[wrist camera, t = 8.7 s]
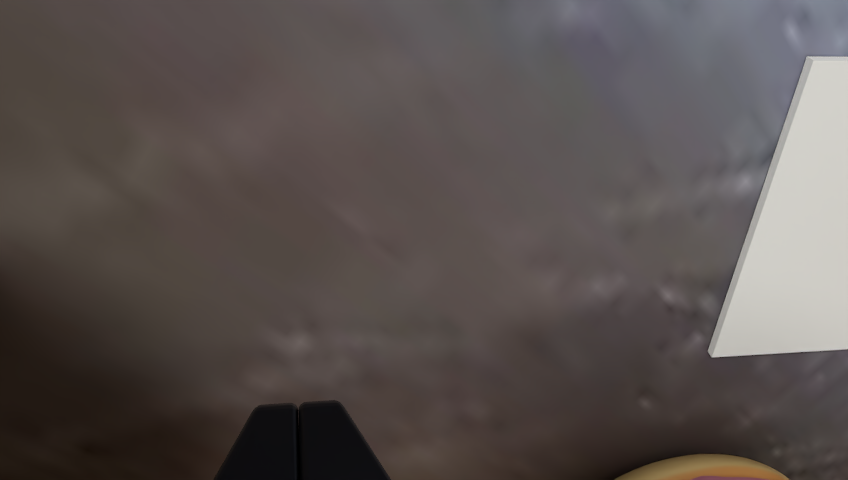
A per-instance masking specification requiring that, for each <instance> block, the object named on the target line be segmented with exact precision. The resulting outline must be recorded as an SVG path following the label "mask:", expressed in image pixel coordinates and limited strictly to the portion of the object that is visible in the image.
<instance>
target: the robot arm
mask: <svg viewBox="0 0 848 480" xmlns="http://www.w3.org/2000/svg"><path fill="white" fill-rule="evenodd" d="M214 480H391V479H390V477H389V476H388V474H387V473H386V471H385V470H384V468H383V466H382V465H381V463H380V462H379V460H378V459H377V457H376V456H375V454H374V453H373V451H372V449H371V448H370V446H369V445H368V443H367V442H366V440H365V439H364V437H363V436H362V434H361V432H360V431H359V429H358V428H357V426H356V425H355V423H354V422H353V420H352V418H351V417H350V415H349V414H348V412H347V411H346V409H345V408H344V406H343V405H342V404H341V403H340V402H338V401H336V400H331V401H315V402H304V403H302V404H301V405H300V407H299V423H298V408H297V406H296V405H295V404H293V403H283V404H268V405H259V406H258V407H256V408H255V409H254V410H253V411H252V413H251V415H250V416H249V418H248V420H247V422H246V423H245V425H244V427H243V429H242V431H241V432H240V434H239V436H238V438H237V439H236V441H235V443H234V445H233V446H232V448H231V450H230V452H229V454H228V455H227V457H226V459H225V461H224V462H223V464H222V466H221V468H220V469H219V471H218V473H217V475H216V477H215V478H214Z"/></svg>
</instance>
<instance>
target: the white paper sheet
mask: <svg viewBox="0 0 848 480" xmlns="http://www.w3.org/2000/svg"><path fill="white" fill-rule="evenodd" d="M843 349H848V57H807V58H806V61H805V64H804V67H803V70H802V73H801V76H800V79H799V82H798V85H797V88H796V91H795V94H794V97H793V100H792V102H791V105H790V108H789V111H788V114H787V117H786V120H785V123H784V126H783V129H782V132H781V135H780V138H779V141H778V144H777V147H776V150H775V153H774V156H773V159H772V162H771V165H770V168H769V171H768V174H767V177H766V180H765V183H764V186H763V188H762V191H761V194H760V197H759V200H758V203H757V206H756V209H755V212H754V215H753V218H752V221H751V224H750V227H749V230H748V233H747V236H746V239H745V242H744V245H743V248H742V251H741V254H740V257H739V260H738V263H737V266H736V269H735V272H734V275H733V277H732V280H731V283H730V286H729V289H728V292H727V295H726V298H725V301H724V304H723V307H722V310H721V313H720V316H719V319H718V322H717V325H716V328H715V331H714V334H713V337H712V340H711V343H710V346H709V349H708V353H709V354H710V356H711V357H727V356H744V355H760V354H777V353H793V352H810V351H826V350H843Z"/></svg>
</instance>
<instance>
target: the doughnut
mask: <svg viewBox="0 0 848 480" xmlns="http://www.w3.org/2000/svg"><path fill="white" fill-rule="evenodd" d="M614 480H790V479H789V478H787V477H786V476H785V475H783V474H782V473H780V472H779V471H777V470H775V469H773V468H771V467H769V466H767V465H765V464H763V463H760V462H757V461H754V460H751V459H748V458H744V457H739V456H733V455H725V454H694V455H685V456H679V457H673V458H669V459H664V460H661V461H657V462H654V463H651V464H648V465H645V466H642V467H639V468H637V469H635V470H632V471H630V472H628V473H626V474H624V475H622V476H620V477H618V478H616V479H614Z"/></svg>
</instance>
